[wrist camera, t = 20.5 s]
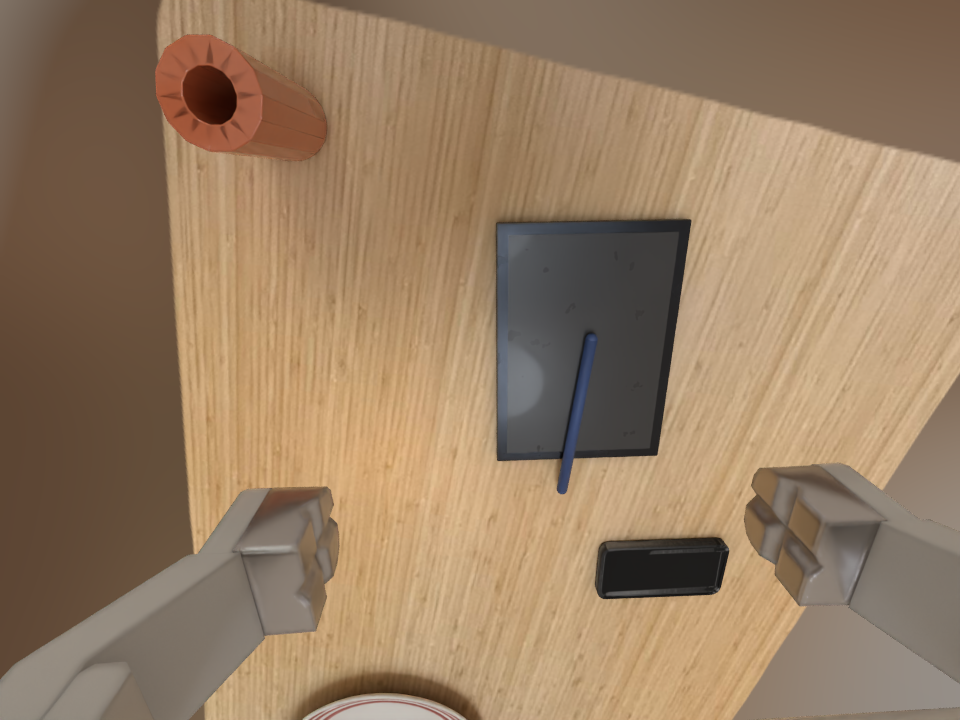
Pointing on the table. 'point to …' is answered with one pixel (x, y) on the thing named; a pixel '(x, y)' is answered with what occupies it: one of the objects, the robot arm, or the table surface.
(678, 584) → the phone
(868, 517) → the robot arm
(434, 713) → the dinner plate
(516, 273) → the tablet
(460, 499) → the table surface
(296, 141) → the holder
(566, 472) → the stylus
